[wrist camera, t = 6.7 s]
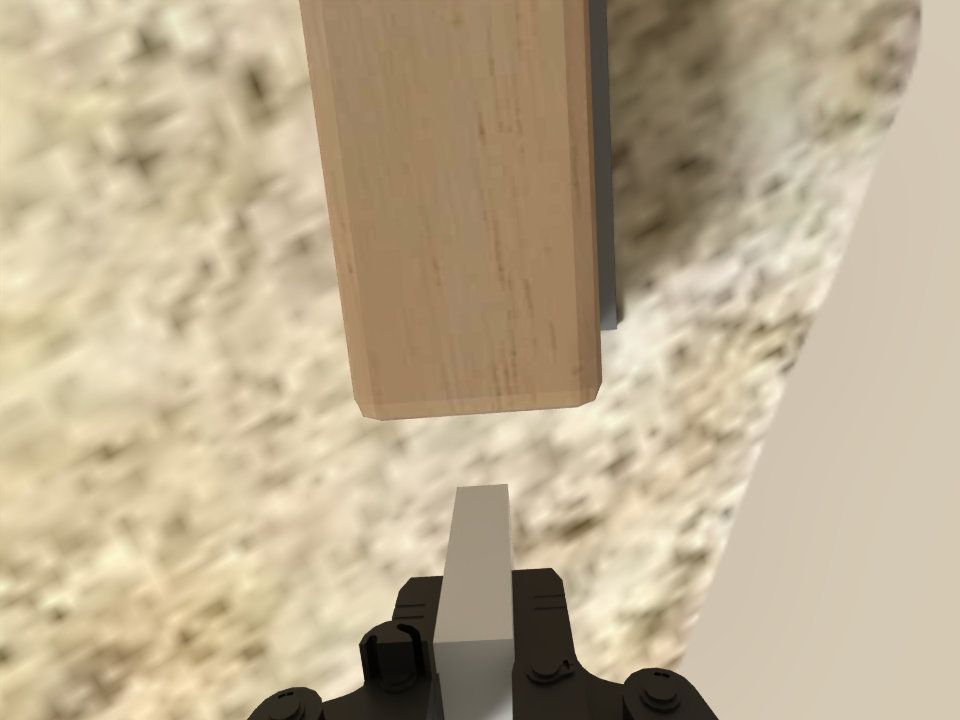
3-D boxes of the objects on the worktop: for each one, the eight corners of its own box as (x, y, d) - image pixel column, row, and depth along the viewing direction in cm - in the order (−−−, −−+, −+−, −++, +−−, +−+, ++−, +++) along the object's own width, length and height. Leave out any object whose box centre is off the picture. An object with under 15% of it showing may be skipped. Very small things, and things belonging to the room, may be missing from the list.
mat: (308, -77, 28) (304, -83, 28) (599, -111, 28) (602, -118, 27) (365, 346, 33) (363, 349, 33) (614, 327, 32) (616, 329, 32)
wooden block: (574, 354, 32) (555, -57, 28) (607, 413, 23) (586, -206, 18) (395, 367, 33) (346, -34, 28) (351, 430, 23) (267, -167, 18)
